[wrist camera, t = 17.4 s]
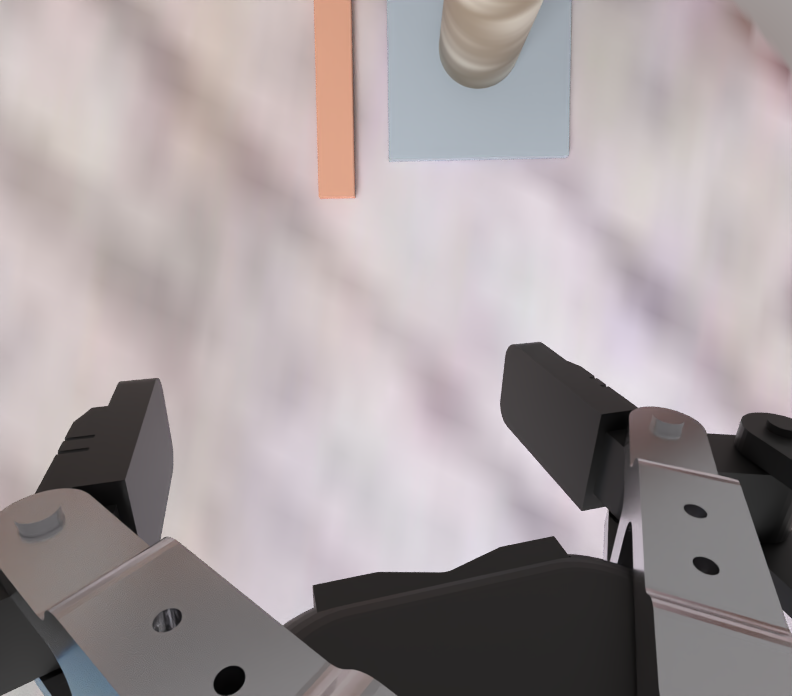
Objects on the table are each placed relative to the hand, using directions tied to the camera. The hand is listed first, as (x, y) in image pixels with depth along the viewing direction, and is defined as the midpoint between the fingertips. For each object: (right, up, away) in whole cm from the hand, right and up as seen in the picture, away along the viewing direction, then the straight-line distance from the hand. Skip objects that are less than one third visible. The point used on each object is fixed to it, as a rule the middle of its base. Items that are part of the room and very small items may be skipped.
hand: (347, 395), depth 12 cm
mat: (+6, +18, +17) cm, 25 cm away
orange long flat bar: (-2, +18, +17) cm, 25 cm away
